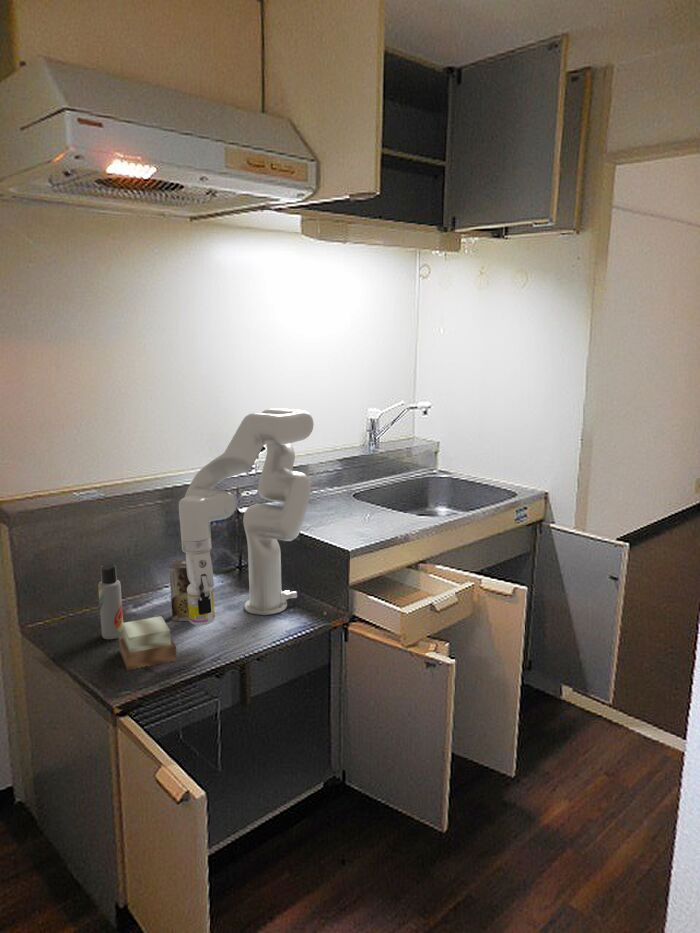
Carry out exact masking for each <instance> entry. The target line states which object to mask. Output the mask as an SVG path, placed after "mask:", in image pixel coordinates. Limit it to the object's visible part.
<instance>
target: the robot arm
mask: <svg viewBox="0 0 700 933" xmlns="http://www.w3.org/2000/svg"><path fill="white" fill-rule="evenodd" d="M314 425H315V424H314V418H313V417H312V415H311V414H310V412H308V411H307V410H303V409H290V408H279V407H278V408H277V407H276V408H274V407H273V408H267V409H265V410H263V411H262V412H261V413H260V412H252V413H249V414H247V415H246V416H244V417H243V419H242V421H241V423H240V424H239V426H238V427H237V429H236V430H235V433H234V435H233V436H232V438H231V440H230V442H228V445H227V447H226V449H225V451H224V452H223V453H222V454H221V455H219V456H217V457H216V458H214V459H213V460H211V461H210V462H209V463H207V464H206V465H204V466H203V467H202V468H201V469H200V470H199V471H198V472H197V473H196V474H195V476H194V477H193V478H192V480H191V482H190V484H189V485H188V488H187V490H186V492H185V495H184V497H182V498H181V499H180V500H179V502H178V515H179V517H178V518H179V526H180V540H181V541H180V542H181V551H182V552H183V553H185V561H186V567H187V576H188V580H189V581H190V578H191V581H192V585H193V587H194V588H195V589H196V590H197V591H198V597H199V600H198V611H199V614H200V615H202V614H207V613H211V599H210V589H209V586H210V587H213V588H214V586H215V581H214V572H213V564H212V563H213V562H212V556H211V553H210V552H211V550H212V548H213V547H212V546H213V544H212V533H211V523H212V522H214V521H215V522H216V521H222V520H225V519H227V518H230V517H231V516H232V515H233V514H234V513H235V512H236V509H237V498H235V496H234V495H233V493H230V492H229V491H227V490H221V489H215V488H214V487H215V486H216V485H218V484H219V483H220V482H222V481H224V480H226V479H229V478H231V477H234V476H238V475H241V474H243V473H245V472H248V471H250V470H251V469H252V467H253V465H254V464H255V462H256V460H257V458H258V456H259V454H260V452H261V450H262V449H263V447H264V446H266V455H265V456H266V457H265V460H264V464H263V466H262V471H261V474H260V477H259V482H258V485H257V491H258V492H257V493H258V495H259V497H261V498H262V499H263V500H267V501H270V502H274V503H276V502H277V503H281V504H282V503H283V504H284V505H283V506H282V505H281V506H279V505H273V504H268V503H254V504H251V505H250V506H249V507H247V509H245V511H244V514H243V518H242V520H243V521H242V523H243V528H244V532H245V536H246V541H247V542H246V543H247V555H248V559H247V560H248V586H249V587H248V588H249V590H248V593H249V594H248V595H249V599H248V600H246V602H244V610H245V611H246V612H247V613H249V614H252V615H259V616H268V615H275V614H278V613H281V612H283V611H284V610H286V609H287V607H288V602H287V601H288V600H289V599H296V598H297V597H298V592H297V591H290V590H289V589H288V590H284V591H283V590H282V562H281V560H282V557H281V556H282V555H281V554H282V553H281V547H280V543H279V541H284V542H292V541H294V540H295V539H297V538H298V536H299V535H300V533H301V530H302V528H303V525H304V524H303V523H304V520H305V516H306V512H307V508H308V505H309V500H310V499H311V498H310V497H311V492H312V491H311V490H312V487H311V481H310V478H309V477H308V476H307V474H305V473H304V472H300V471H295V470H293V469H294V464H295V461H296V460H295V459H296V454H295V450H294V447H293V445H292V444H293V443H297V442H301V441H304V440H306V439H308V438H309V436H310V435H311V434H312V432H313V430H314ZM190 584H191V582H190ZM208 585H209V586H208ZM199 586H203V588H199ZM201 590H203V593H202V595H201Z"/></svg>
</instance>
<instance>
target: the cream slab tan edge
mask: <svg viewBox="0 0 700 933" xmlns="http://www.w3.org/2000/svg"><path fill="white" fill-rule="evenodd" d="M122 628H123V635H122V636H121V637H119V638H118V647H119V648H118V651H119V653H120V655H121V658H122V660H123V664H124V667H125V668H126V671H127V670H129V671H133V670H137V669H136V668H138V669H142V668H141V667H143V668H146V667H145V666H148V667H151V666H150V665H153V666H156V665H155V664H158V665H161V664H160V663H163V664H165V663H164V662H168V663H171V662H170V661H173V662H176V661H175V660H177V647H176V646H177V645H176V643H175V642H174V640H173V639H172V637H171V630H170V628H169V626H168V624H167V623H166V621H165V619H164V618H163V616H161V615H159V616H154V617H149V618H143V619H138V620H131V621H127V622H126V621H125V622H123V623H122ZM132 669H133V670H132Z"/></svg>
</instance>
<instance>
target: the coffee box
mask: <svg viewBox="0 0 700 933" xmlns="http://www.w3.org/2000/svg"><path fill="white" fill-rule="evenodd" d="M168 573H169V585H170V601H171V615H172V616H171V617H172V618H171V619H172V621H174V622H176V621H177V622H178V621H179V622H180V621H181V622H190V619H189V608H188V597H187V587H188V586H189V585H190V581H189V580H188V576H187V567H186V560H175V561H174V562H173V563H172V564H171V566H169V568H168Z"/></svg>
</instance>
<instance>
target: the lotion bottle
mask: <svg viewBox="0 0 700 933" xmlns="http://www.w3.org/2000/svg"><path fill="white" fill-rule="evenodd" d="M100 578H101V581H100V582H98V584H97V586H98V599H99V600H98V602H99V611H100V612H99V614H100V628H101V636H102V638H103V639H105V640H117V639H119V637H121V636H123V628H122V623H124V617H123V615H124V614H123V601H122V586H121V581H120V580H119V579H118V577H117V567H116V565H115V564H113V563H106V564H103V565H101V566H100Z"/></svg>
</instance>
